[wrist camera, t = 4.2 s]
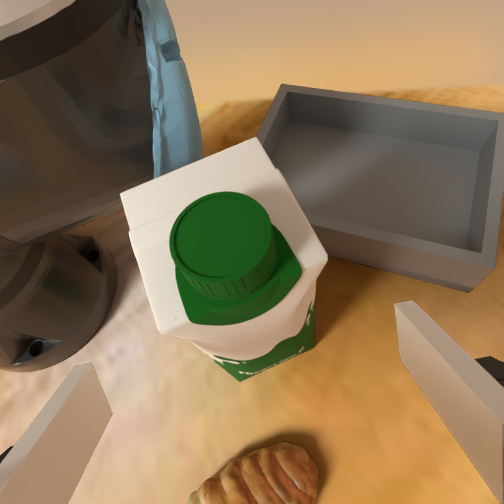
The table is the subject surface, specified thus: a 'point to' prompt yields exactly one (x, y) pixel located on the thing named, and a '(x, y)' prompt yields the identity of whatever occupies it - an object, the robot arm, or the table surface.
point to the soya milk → (228, 259)
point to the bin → (393, 180)
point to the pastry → (263, 479)
